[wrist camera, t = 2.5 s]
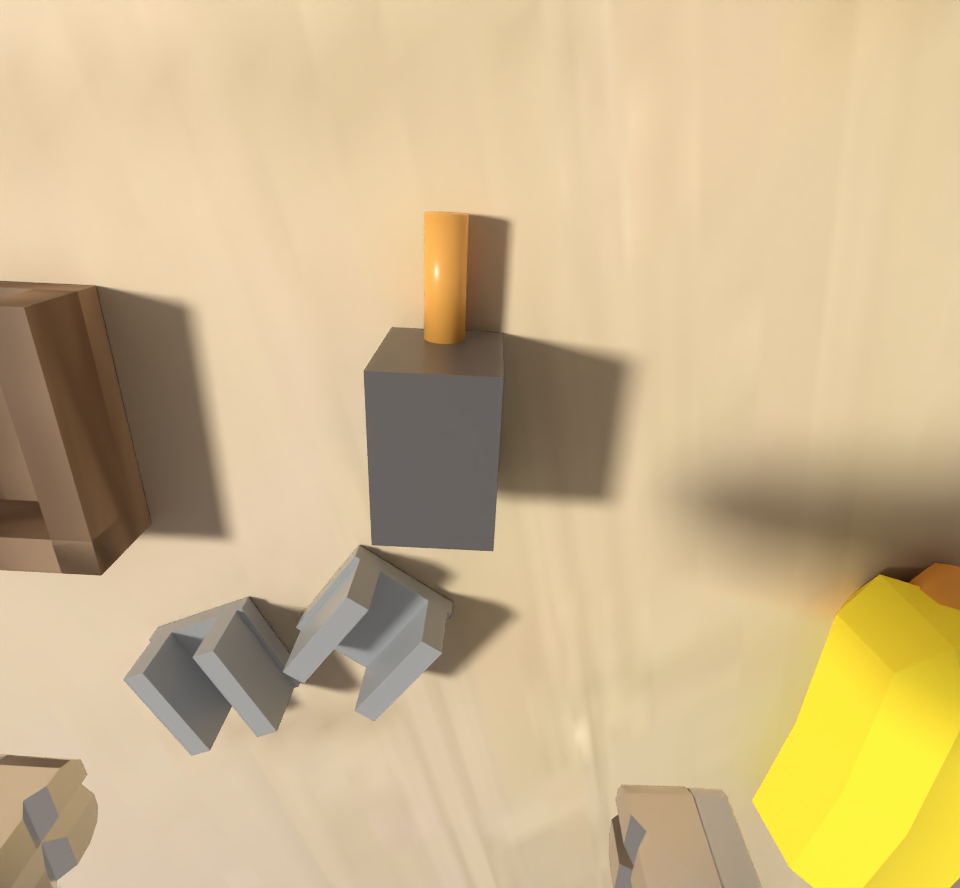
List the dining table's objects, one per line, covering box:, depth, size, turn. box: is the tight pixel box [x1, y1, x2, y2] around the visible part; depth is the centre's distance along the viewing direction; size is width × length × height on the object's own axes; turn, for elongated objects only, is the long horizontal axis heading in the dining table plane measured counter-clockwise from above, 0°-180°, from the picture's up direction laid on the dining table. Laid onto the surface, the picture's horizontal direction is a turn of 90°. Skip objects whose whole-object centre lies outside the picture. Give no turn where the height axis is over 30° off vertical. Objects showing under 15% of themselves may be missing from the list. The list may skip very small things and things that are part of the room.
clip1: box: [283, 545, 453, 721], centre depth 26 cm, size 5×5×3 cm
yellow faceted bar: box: [752, 563, 960, 888], centre depth 26 cm, size 18×7×8 cm
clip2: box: [123, 597, 300, 756], centre depth 27 cm, size 5×5×3 cm
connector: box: [364, 212, 504, 551], centre depth 20 cm, size 4×10×5 cm, turn 178°
